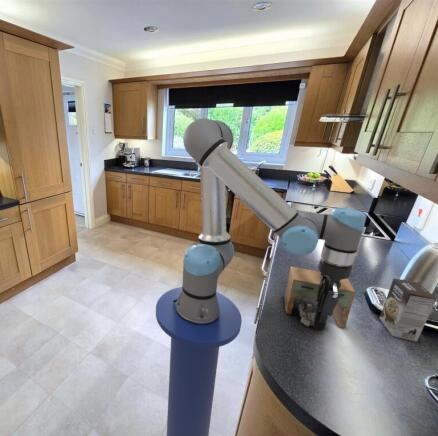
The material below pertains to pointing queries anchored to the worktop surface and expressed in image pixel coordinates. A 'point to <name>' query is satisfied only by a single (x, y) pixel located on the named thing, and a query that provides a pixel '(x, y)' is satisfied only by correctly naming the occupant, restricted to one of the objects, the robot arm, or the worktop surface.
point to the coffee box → (406, 309)
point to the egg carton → (307, 313)
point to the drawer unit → (308, 289)
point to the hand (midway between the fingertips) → (318, 327)
